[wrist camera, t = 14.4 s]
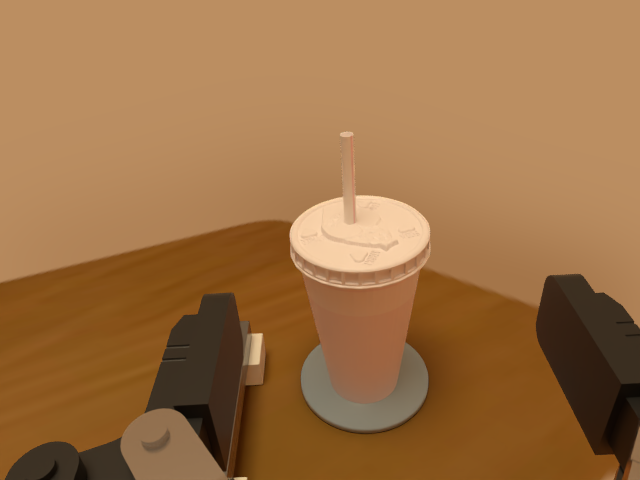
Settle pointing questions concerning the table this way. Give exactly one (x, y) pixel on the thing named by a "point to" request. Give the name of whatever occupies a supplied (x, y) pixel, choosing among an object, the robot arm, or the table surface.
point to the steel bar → (239, 398)
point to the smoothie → (361, 282)
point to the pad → (370, 415)
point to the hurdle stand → (255, 366)
